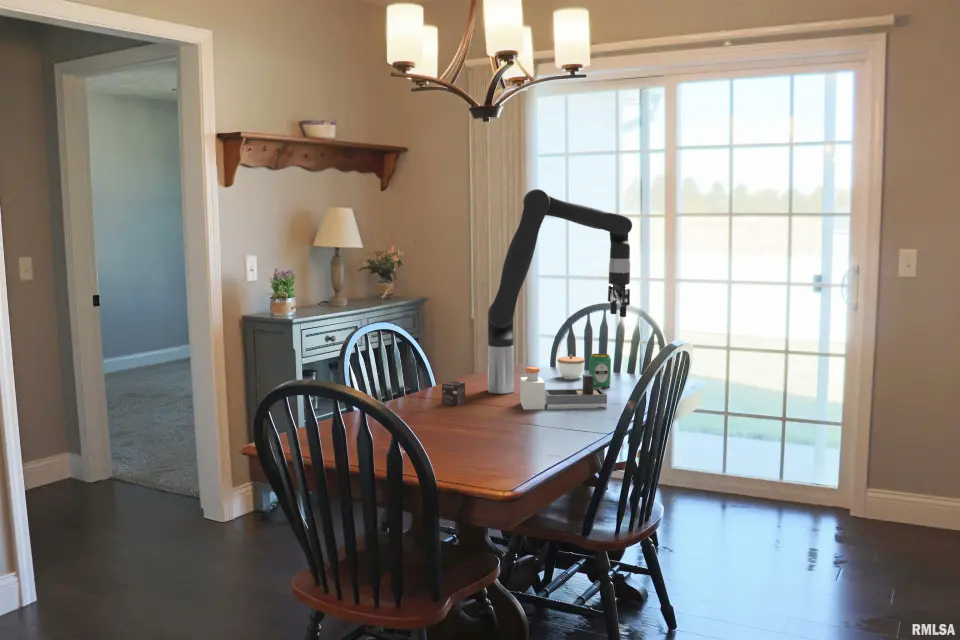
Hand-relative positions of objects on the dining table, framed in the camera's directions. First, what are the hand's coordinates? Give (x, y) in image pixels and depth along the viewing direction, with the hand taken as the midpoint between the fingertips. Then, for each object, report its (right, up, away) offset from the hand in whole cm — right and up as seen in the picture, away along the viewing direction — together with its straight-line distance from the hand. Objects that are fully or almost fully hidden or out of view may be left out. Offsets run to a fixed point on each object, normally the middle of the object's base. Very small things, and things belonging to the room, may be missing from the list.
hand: (618, 315), depth 300 cm
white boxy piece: (-32, -31, -20) cm, 49 cm away
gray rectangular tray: (-18, -31, -19) cm, 40 cm away
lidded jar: (-14, -25, +28) cm, 40 cm away
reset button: (-33, -23, -21) cm, 45 cm away
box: (-59, -31, -16) cm, 69 cm away
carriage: (-14, -29, -19) cm, 37 cm away
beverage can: (-5, -27, +11) cm, 30 cm away
